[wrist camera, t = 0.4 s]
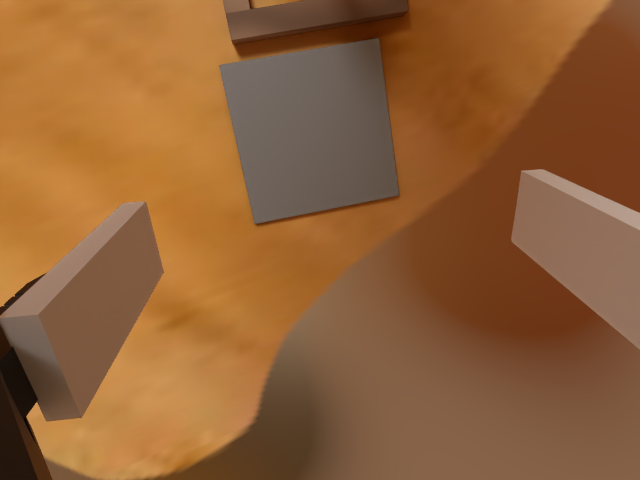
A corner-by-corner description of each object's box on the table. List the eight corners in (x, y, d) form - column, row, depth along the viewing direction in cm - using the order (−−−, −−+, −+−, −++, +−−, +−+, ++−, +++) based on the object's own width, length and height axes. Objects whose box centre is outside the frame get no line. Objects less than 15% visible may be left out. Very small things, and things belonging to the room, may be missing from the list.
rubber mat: (219, 66, 35) (219, 65, 35) (377, 39, 36) (378, 37, 36) (254, 223, 38) (254, 223, 38) (398, 194, 39) (399, 195, 39)
